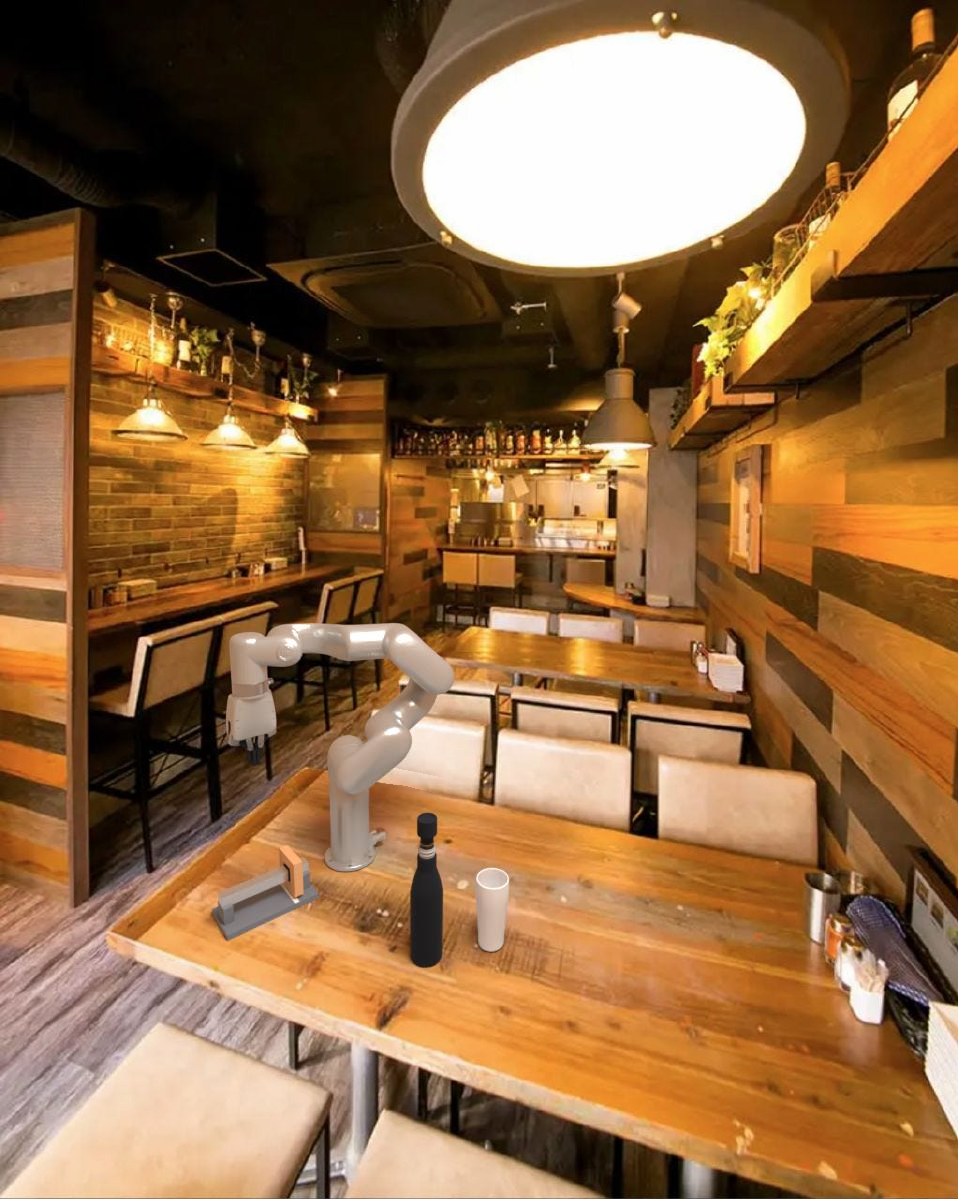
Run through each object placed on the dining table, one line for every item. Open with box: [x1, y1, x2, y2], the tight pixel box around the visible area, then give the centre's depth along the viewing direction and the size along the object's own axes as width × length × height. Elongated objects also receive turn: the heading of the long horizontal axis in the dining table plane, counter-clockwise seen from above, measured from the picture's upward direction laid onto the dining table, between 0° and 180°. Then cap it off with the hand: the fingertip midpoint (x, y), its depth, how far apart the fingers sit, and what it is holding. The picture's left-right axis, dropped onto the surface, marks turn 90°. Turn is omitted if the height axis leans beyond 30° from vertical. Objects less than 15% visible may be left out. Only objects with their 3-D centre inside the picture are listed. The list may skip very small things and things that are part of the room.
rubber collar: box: [278, 844, 304, 897], centre depth 130 cm, size 2×8×8 cm, turn 41°
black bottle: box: [409, 812, 444, 969], centre depth 112 cm, size 6×6×30 cm
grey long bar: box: [217, 856, 310, 909], centre depth 127 cm, size 19×3×3 cm, turn 131°
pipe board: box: [211, 871, 320, 941], centre depth 127 cm, size 20×10×5 cm, turn 131°
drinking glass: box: [475, 867, 510, 953], centre depth 117 cm, size 7×7×15 cm
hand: (254, 763), depth 132 cm, fingers closed
